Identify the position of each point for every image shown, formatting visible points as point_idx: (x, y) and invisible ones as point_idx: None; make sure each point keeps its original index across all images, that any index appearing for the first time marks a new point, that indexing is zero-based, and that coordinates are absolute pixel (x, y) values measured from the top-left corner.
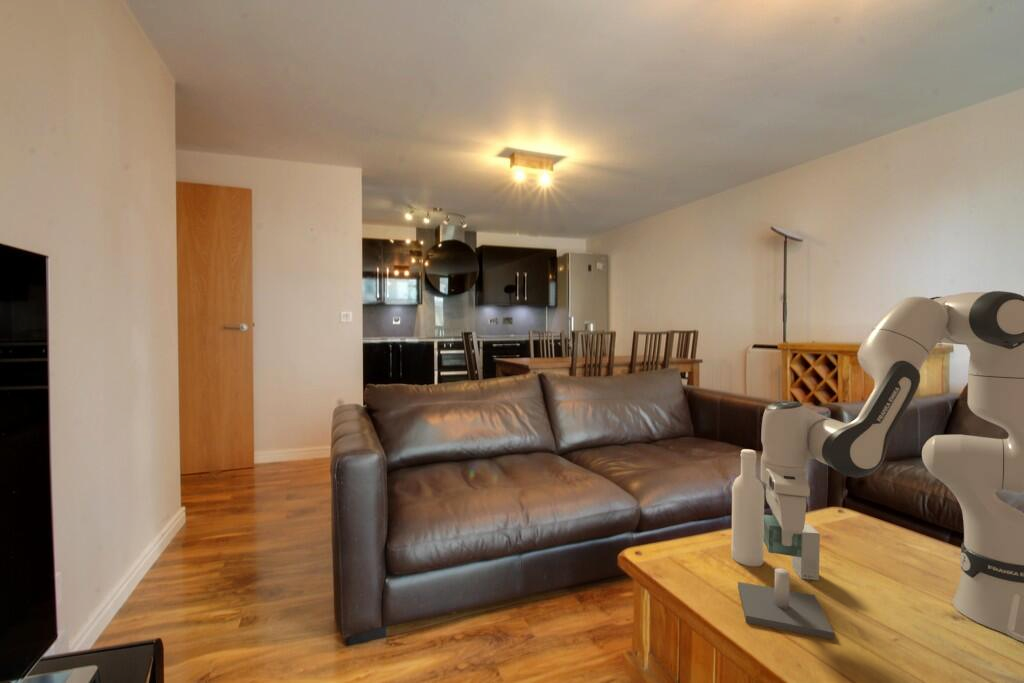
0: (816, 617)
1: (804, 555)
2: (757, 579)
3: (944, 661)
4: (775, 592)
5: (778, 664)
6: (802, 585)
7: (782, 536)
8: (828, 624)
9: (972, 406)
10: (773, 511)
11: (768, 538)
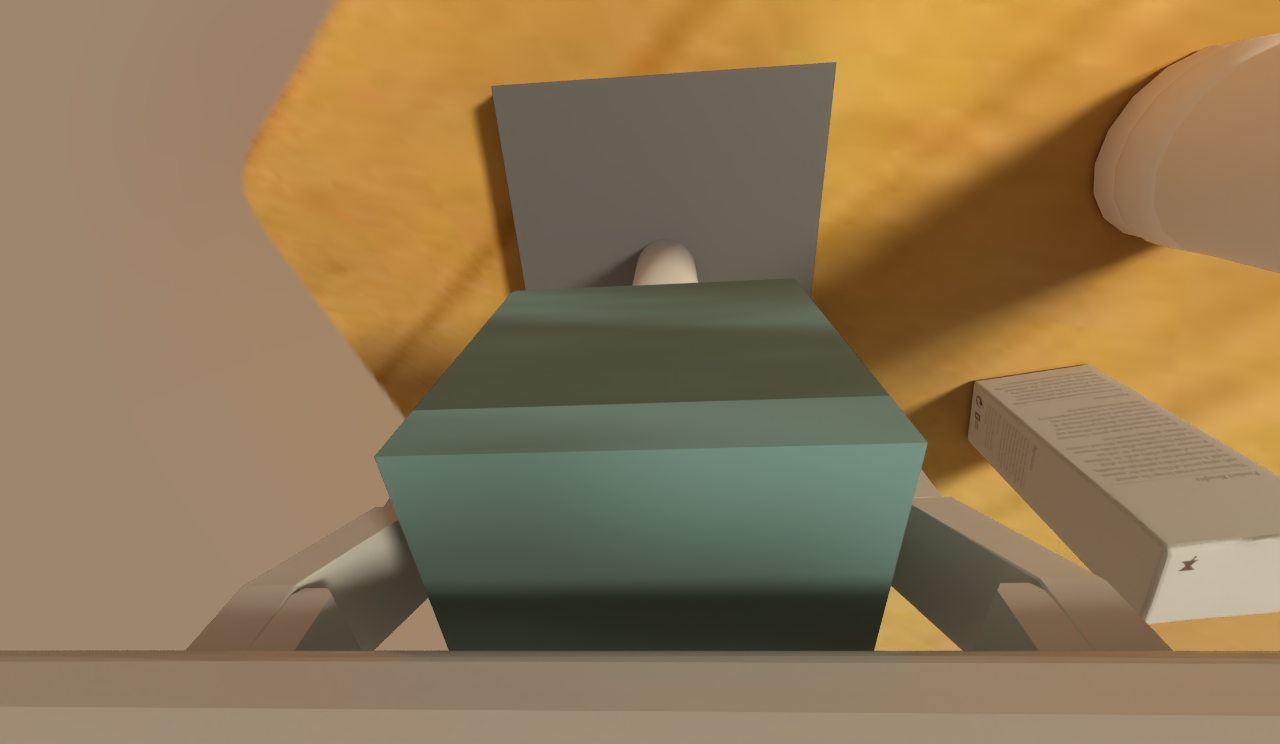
0: None
1: (1045, 457)
2: (942, 185)
3: None
4: (654, 256)
5: (291, 198)
6: (915, 374)
7: (364, 515)
8: None
9: None
10: (624, 720)
11: (501, 342)
